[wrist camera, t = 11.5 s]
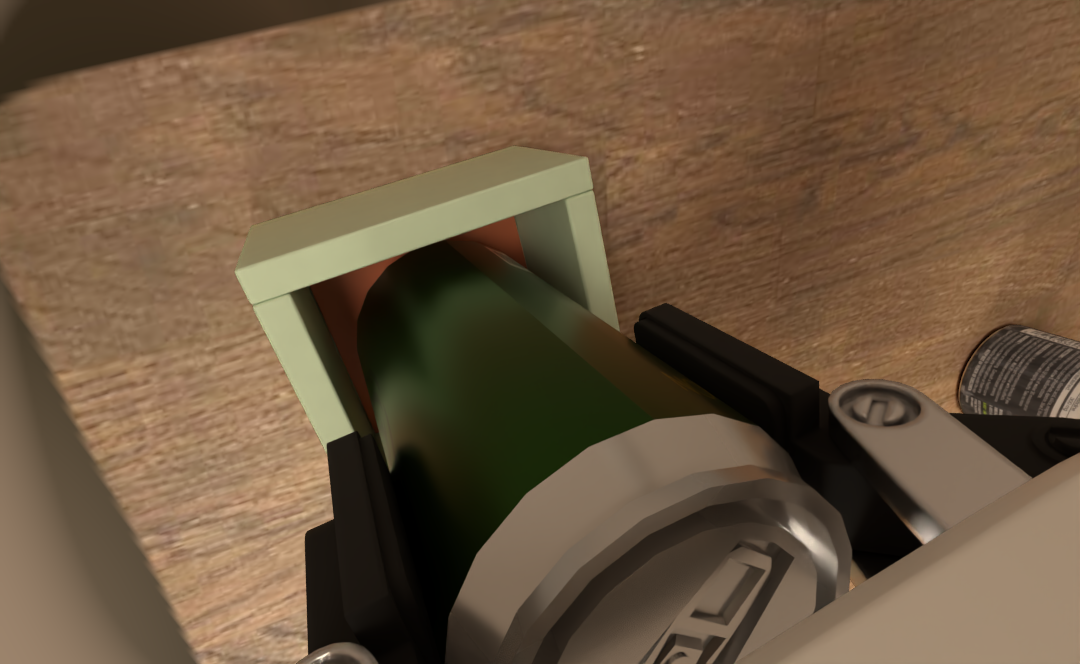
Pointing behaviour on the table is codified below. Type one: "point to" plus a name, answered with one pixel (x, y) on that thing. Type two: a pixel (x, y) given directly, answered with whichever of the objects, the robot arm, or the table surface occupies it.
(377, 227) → the divided tray
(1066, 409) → the pill bottle
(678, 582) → the guarana soda can
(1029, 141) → the table surface
